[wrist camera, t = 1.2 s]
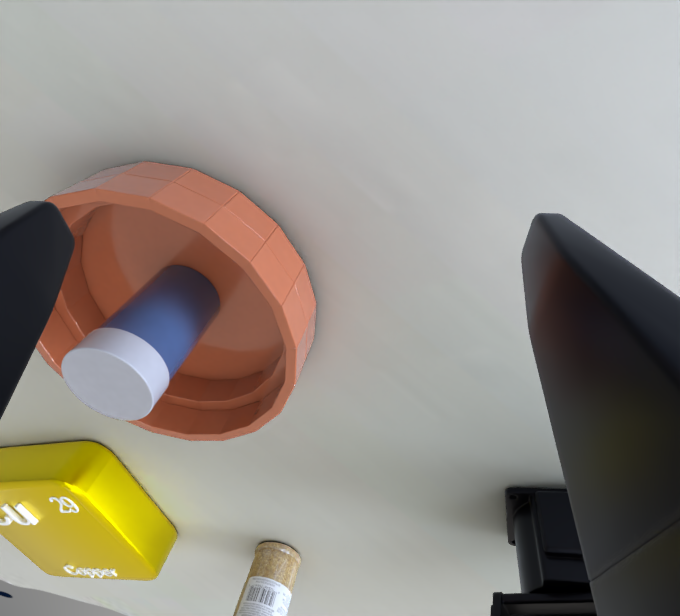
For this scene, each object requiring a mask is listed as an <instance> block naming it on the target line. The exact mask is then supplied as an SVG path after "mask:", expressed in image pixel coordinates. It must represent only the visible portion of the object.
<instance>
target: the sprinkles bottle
mask: <svg viewBox="0 0 680 616" xmlns="http://www.w3.org/2000/svg"><path fill="white" fill-rule="evenodd" d="M300 564H301V558H300V556H299V554H298V553H297V552H295V550H293V549H292V548H290V547H289V546H287V545H284V544H282V543H276V542H264V543H262V544H260V545H258V546H257V548H256V550H255V557H254V560H253V562H252V566H251V568H250V572H249V574H248V577H247V580H246V582H245V584H244V586H243V589H242V592H241V594H240V597H239V600H238V603H237V606H236V609H235V612H234V615H233V616H286V615H287V611H288V608H289V604H290V600H291V594H292V589H293V586H294V582H295V578H296V574H297V570H298V568H299V566H300Z"/></svg>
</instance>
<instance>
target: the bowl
mask: <svg viewBox="0 0 680 616" xmlns="http://www.w3.org/2000/svg"><path fill="white" fill-rule="evenodd" d="M45 201H48V202H51V203H53V204H55V205H56V206H57V208H58V209H59V211H60V213H61V214H62V216H63V218H64V220H65V221H66V223H67V225H68V227H69V229H70V230H71V232H72V234H73V236H74V240H75V248H74V251H73V254H72V257H71V260H70V263H69V266H68V269H67V272H66V275H65V277H64V280H63V283H62V286H61V289H60V292H59V295H58V298H57V300H56V303H55V306H54V308H53V311H52V313H51V315H50V318H49V320H48V322H47V324H46V326H45V328H44V330H43V332H42V335H41V337H40V339H39V341H38V343H37V345H36V348H37V350H38V351H39V353H40V354H41V355H42V357H43V358H44V360H45V361H46V362H47V364H48V365H49V366H51V367H52V368H53V369H54V370H55V371H56V372H57V373H58V374H59V375H60V376H61V377H62V378H63V375H62V371H61V364H62V360H63V358H64V356H65V355H66V354H67V353H68V352H69V351H70V350H71V349H72V348H73V347H74V346H75V345H76V344H77V343H79V342H80V341H81V340H82V339H83V338H84V337H85V336H86V335H87V334H88V333H90V332H91V331H93V330H96V329H97V328H98V327H99V326H100V325H101V324H102V323H103V322H104V321H105V320H106V319H107V318H109V317H110V316H111V315H112V314H113V313H114V312H115V311H116V310H117V309H118V308H119V307H120V306H121V305H122V304H123V303H125V302H126V301H127V300H128V299H129V298H130V297H131V296H132V295H133V294H134V293H135V292H136V291H137V290H138V289H139V288H141V287H142V286H143V285H144V284H145V283H146V282H147V281H148V280H149V279H150V278H151V277H152V276H153V275H154V274H156V273H157V272H158V271H159V270H160V269H162V268H163V267H166V266H170V265H182V266H186V267H190V268H192V269H194V270H196V271H198V272H200V273H201V274H203V275H204V276H205V277H206V278H207V279H208V280H209V281H210V282H211V283H212V284H213V286H214V287H215V289H216V291H217V293H218V295H219V298H220V311H219V314H218V316H217V318H216V319H215V320H214V322H213V323H212V325H211V326H210V327H209V329H208V330H207V331H206V333H205V334H204V336H203V337H202V338H201V340H200V341H199V342H198V344H197V345H196V347H195V348H194V349H193V351H192V352H191V353H190V355H189V356H188V357H187V359H186V360H185V362H184V363H183V364H182V366H181V367H180V368H179V370H178V371H177V373H176V374H175V375H174V377H173V378H172V379H171V381H170V382H169V386H168V388H167V390H166V391H165V392H164V394H163V395H162V397H161V398H160V399H159V401H158V402H157V403H156V405H155V406H154V408H153V409H152V410H151V412H150V413H149V414H148V415H147V416H145V417H143V418H141V419H139V420H133V421H127V422H129V423H132V424H134V425H136V426H138V427H141V428H143V429H145V430H148V431H150V432H153V433H158V434H162V435H167V436H171V437H175V438H180V439H184V440H189V441H224V440H228V439H231V438H235V437H238V436H242V435H245V434H249V433H252V432H255V431H257V430H258V429H260V428H261V427H262V426H264V425H265V424H266V423H268V422H269V421H270V420H272V419H273V418H274V417H276V416H277V415H278V414H280V413H281V411H282V410H283V408H284V406H285V404H286V402H287V400H288V398H289V396H290V394H291V392H292V391H293V389H294V387H295V385H296V382H297V380H298V377H299V375H300V372H301V370H302V367H303V365H304V362H305V360H306V357H307V355H308V352H309V350H310V347H311V345H312V342H313V340H314V333H315V318H316V300H315V297H314V293H313V290H312V287H311V283H310V280H309V276H308V273H307V270H306V266H305V264H304V262H303V261H302V259H301V258H300V256H299V255H298V253H297V252H296V250H295V249H294V247H293V246H292V244H291V243H290V241H289V240H288V238H287V237H286V235H285V234H284V232H283V231H282V229H281V228H280V226H279V225H278V224H277V223H276V222H275V221H274V220H272V219H271V218H270V217H269V216H268V215H267V214H266V213H264V212H263V211H262V210H261V209H260V208H259V207H257V206H256V205H255V204H254V203H253V202H252V201H251V200H249V199H248V198H247V197H246V196H245V195H244V194H242V193H241V192H239V191H238V190H237V189H235V188H232V187H230V186H228V185H226V184H224V183H222V182H220V181H218V180H216V179H214V178H212V177H210V176H207V175H205V174H203V173H201V172H199V171H197V170H195V169H192V168H187V167H180V166H174V165H167V164H161V163H154V162H148V161H143V162H138V163H133V164H128V165H123V166H118V167H114V168H109V169H105V170H103V171H101V172H99V173H97V174H95V175H93V176H91V177H89V178H87V179H85V180H83V181H81V182H79V183H77V184H75V185H73V186H71V187H69V188H67V189H65V190H63V191H61V192H59V193H57V194H55V195H53V196H51V197H49V198H48V199H46V200H45ZM63 379H64V378H63Z"/></svg>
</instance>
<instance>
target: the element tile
mask: <svg viewBox="0 0 680 616" xmlns="http://www.w3.org/2000/svg"><path fill="white" fill-rule="evenodd" d="M0 534H1V535H2V536H4V537H5V538H6V539H7V540H8V541H9V542H11V543H12V544H13V545H14V546H15V547H16V548H17V549H19V550H20V551H21V552H22V553H23V554H24V555H25V556H27V557H28V558H29V559H30V560H31V561H32V562H33V563H35V564H36V565H37V566H38V567H39V568H40V569H41V570H43V571H44V572H45V573H47V574H49V575H53V576H62V577H79V578H101V579H122V580H143V581H148V580H153V579H156V578H157V576H158V575H159V573H160V571H161V569H162V567H163V565H164V563H165V561H166V559H167V557H168V555H169V553H170V551H171V549H172V547H173V545H174V543H175V541H176V539H177V532H176V530H175V528H174V526H173V525H172V524H171V523H170V521H169V520H168V519H167V518H166V517H165V515H164V514H163V513H162V512H161V511H160V509H159V508H158V507H157V506H156V505H155V503H154V502H153V501H152V500H151V498H150V497H149V496H148V495H147V494H146V492H145V491H144V490H143V489H142V488H141V486H140V485H139V484H138V483H137V481H136V480H135V479H134V478H133V477H132V475H131V474H130V473H129V472H128V471H127V469H126V468H125V467H124V466H123V465H122V463H121V462H120V461H119V460H118V458H117V457H116V456H115V455H114V454H113V453H112V452H111V451H110V450H108V449H107V448H106V447H104V446H103V445H100V444H98V443H95V442H91V441H75V442H64V443H52V444H41V445H29V446H18V447H6V448H0Z"/></svg>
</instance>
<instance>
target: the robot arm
mask: <svg viewBox="0 0 680 616" xmlns="http://www.w3.org/2000/svg"><path fill="white" fill-rule="evenodd" d="M74 248H75V240H74V236H73V234H72V232H71V230H70V229H69V227H68V225H67V223H66V221H65V220H64V218H63V216H62V214H61V213H60V211H59V209H58V208H57V206H56V205H55V204H53V203H51V202H48V201H29V202H26V203H23V204H21V205H19V206H16V207H14V208H12V209H9V210H7V211H5V212H2V213H0V419H1V417H2V415H3V413H4V411H5V409H6V407H7V405H8V403H9V401H10V399H11V397H12V395H13V392H14V390H15V388H16V386H17V384H18V382H19V380H20V378H21V376H22V374H23V372H24V370H25V368H26V366H27V364H28V361H29V359H30V357H31V355H32V353H33V351H34V349H35V347H36V345H37V343H38V341H39V339H40V337H41V335H42V332H43V330H44V328H45V326H46V324H47V322H48V320H49V318H50V315H51V313H52V311H53V308H54V306H55V303H56V300H57V298H58V295H59V292H60V289H61V286H62V283H63V280H64V277H65V275H66V272H67V269H68V266H69V263H70V260H71V257H72V254H73V251H74ZM521 263H522V273H523V282H524V292H525V301H526V311H527V321H528V328H529V334H530V339H531V344H532V348H533V352H534V356H535V360H536V364H537V368H538V372H539V376H540V381H541V385H542V389H543V393H544V397H545V401H546V405H547V409H548V413H549V418H550V422H551V426H552V430H553V434H554V438H555V442H556V446H557V450H558V455H559V459H560V463H561V467H562V471H563V475H564V479H565V483H566V487H567V489H541V488H508V489H506V490H505V499H506V516H507V533H508V542H509V544H510V545H513V546H516V551H517V559H518V567H519V576H520V584H521V592H522V593H514V594H503V593H502V592H494V593H493V605H491V616H680V297H679V296H677V295H676V294H674V293H673V292H671V291H670V290H669V289H667V288H666V287H664V286H663V285H662V284H660V283H659V282H657V281H656V280H654V279H653V278H652V277H650V276H649V275H647V274H646V273H644V272H643V271H642V270H640V269H639V268H637V267H636V266H634V265H633V264H632V263H630V262H629V261H627V260H626V259H625V258H623V257H622V256H620V255H619V254H617V253H616V252H615V251H613V250H612V249H610V248H609V247H607V246H606V245H605V244H603V243H602V242H600V241H599V240H597V239H596V238H595V237H593V236H592V235H590V234H589V233H588V232H586V231H585V230H583V229H582V228H580V227H579V226H578V225H576V224H575V223H573V222H572V221H570V220H569V219H568V218H566V217H565V216H563V215H562V214H554V213H539V214H537V215H536V216H535V217H534V219H533V221H532V223H531V226H530V229H529V232H528V235H527V238H526V241H525V244H524V247H523V251H522V257H521Z"/></svg>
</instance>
